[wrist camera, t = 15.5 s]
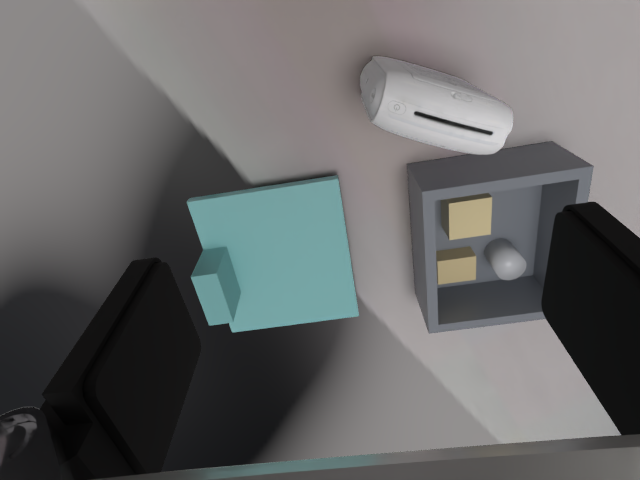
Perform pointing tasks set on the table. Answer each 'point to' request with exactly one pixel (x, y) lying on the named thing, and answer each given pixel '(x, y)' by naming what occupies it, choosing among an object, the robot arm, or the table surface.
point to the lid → (274, 255)
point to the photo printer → (433, 107)
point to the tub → (488, 231)
